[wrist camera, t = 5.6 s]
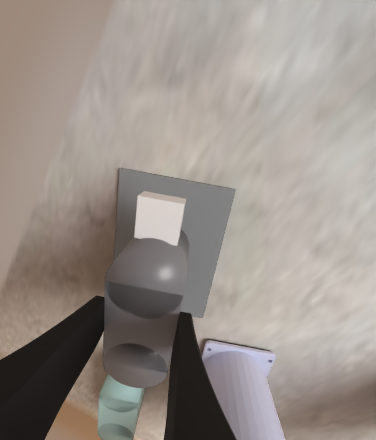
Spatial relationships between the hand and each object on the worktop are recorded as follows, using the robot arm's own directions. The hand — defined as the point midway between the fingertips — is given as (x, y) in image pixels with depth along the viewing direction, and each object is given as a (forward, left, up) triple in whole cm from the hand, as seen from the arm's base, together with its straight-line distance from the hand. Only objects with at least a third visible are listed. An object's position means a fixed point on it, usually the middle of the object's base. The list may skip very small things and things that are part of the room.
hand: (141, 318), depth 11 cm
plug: (+1, 0, -4) cm, 4 cm away
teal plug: (-19, +2, -9) cm, 21 cm away
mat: (0, 0, -8) cm, 8 cm away
